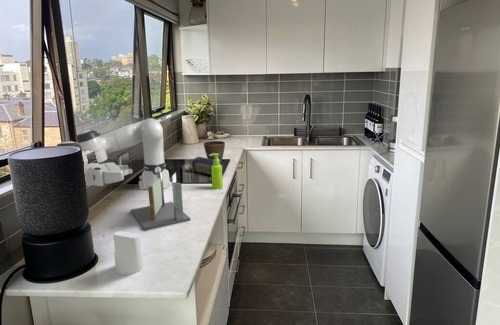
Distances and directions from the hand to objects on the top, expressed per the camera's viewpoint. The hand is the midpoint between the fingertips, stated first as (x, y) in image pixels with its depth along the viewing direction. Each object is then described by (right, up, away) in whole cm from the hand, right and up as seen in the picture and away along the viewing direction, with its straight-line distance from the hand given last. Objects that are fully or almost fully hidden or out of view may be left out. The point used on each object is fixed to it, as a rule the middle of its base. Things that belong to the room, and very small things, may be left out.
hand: (130, 169), depth 153 cm
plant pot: (+26, +1, +106) cm, 109 cm away
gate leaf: (+8, -20, +12) cm, 25 cm away
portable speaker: (+24, -5, +83) cm, 86 cm away
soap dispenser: (+32, -12, +52) cm, 62 cm away
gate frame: (+10, -22, +12) cm, 27 cm away
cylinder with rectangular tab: (+11, -33, -32) cm, 47 cm away
